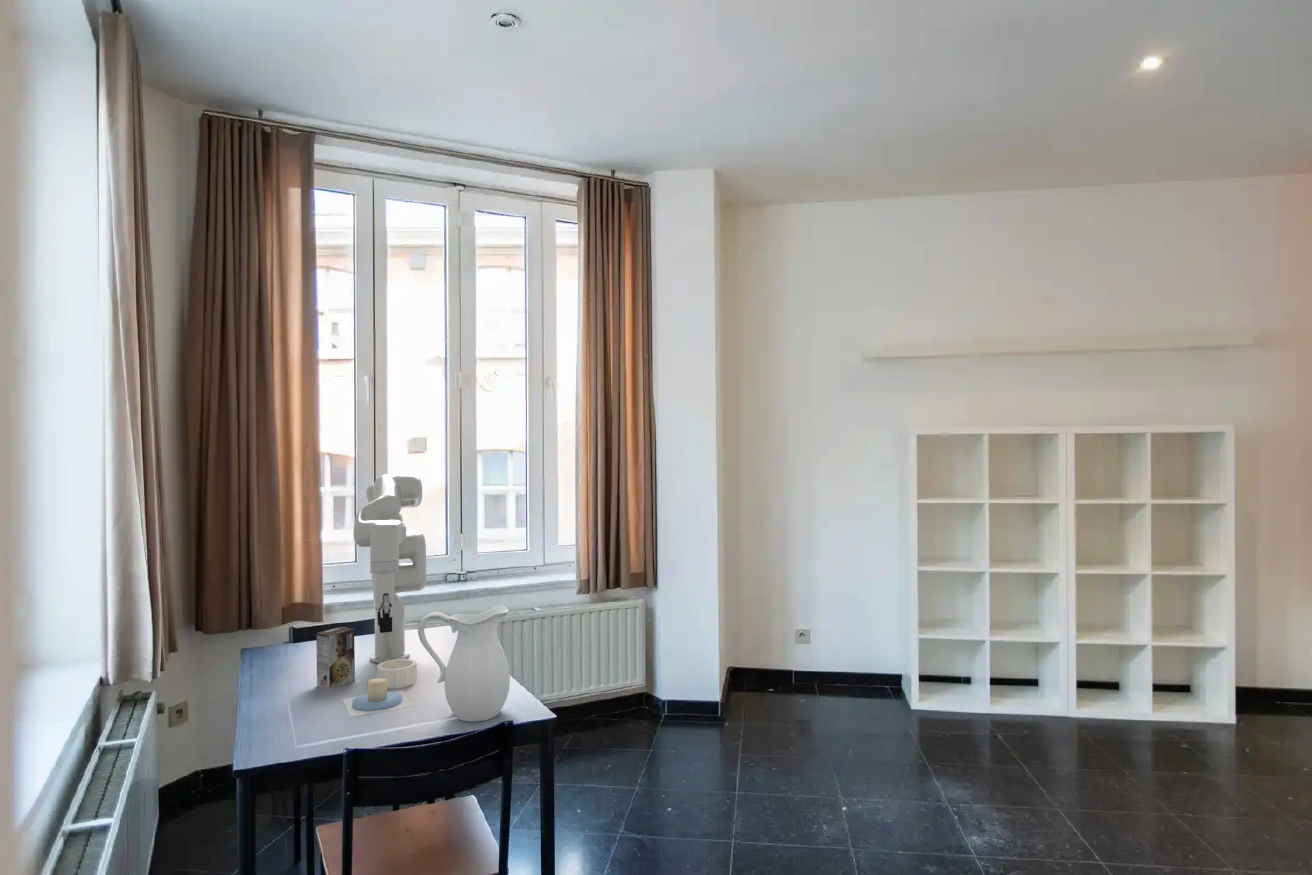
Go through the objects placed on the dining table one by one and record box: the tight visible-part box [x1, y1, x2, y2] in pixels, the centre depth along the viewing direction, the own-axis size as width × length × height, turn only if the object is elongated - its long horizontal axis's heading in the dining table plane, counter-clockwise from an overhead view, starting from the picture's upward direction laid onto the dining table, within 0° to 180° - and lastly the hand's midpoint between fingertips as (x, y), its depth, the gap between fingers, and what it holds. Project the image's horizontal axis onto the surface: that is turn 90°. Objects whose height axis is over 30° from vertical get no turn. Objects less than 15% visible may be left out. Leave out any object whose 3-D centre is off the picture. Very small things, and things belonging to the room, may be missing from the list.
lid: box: [352, 677, 402, 711], centre depth 210 cm, size 13×13×6 cm
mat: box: [342, 689, 414, 718], centre depth 210 cm, size 16×16×1 cm
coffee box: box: [315, 626, 356, 689], centre depth 229 cm, size 9×6×16 cm
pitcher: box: [417, 605, 511, 723], centre depth 202 cm, size 24×17×28 cm
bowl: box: [376, 658, 418, 689], centre depth 228 cm, size 11×11×6 cm
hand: (384, 628), depth 211 cm, fingers open, 9 cm apart
